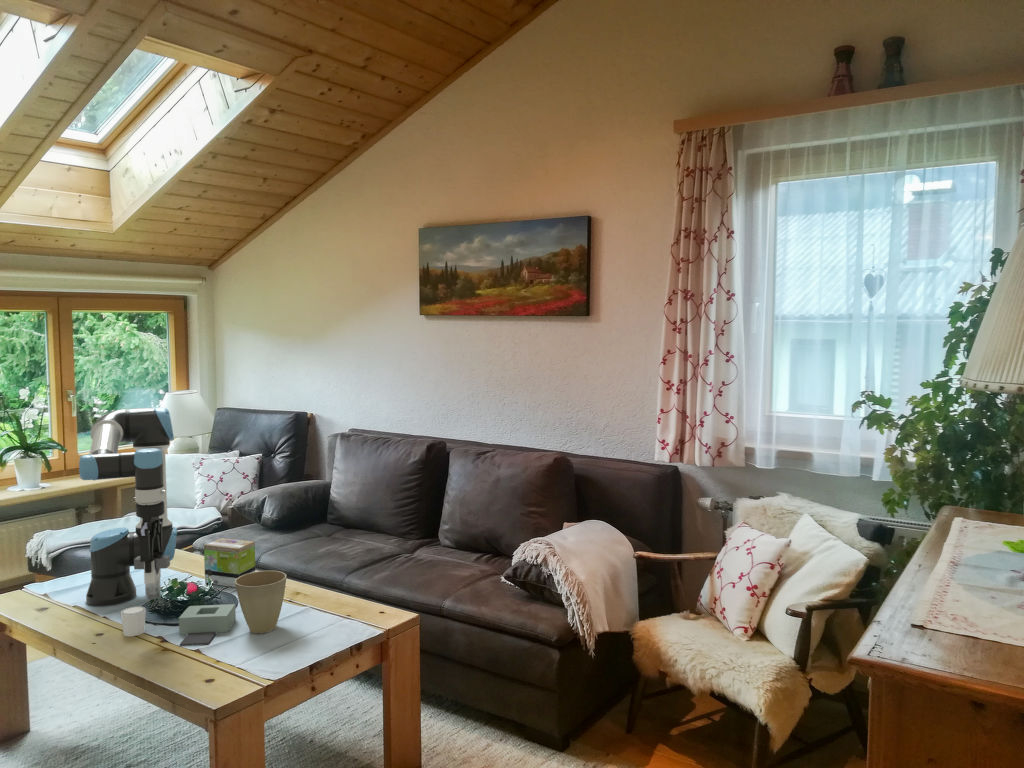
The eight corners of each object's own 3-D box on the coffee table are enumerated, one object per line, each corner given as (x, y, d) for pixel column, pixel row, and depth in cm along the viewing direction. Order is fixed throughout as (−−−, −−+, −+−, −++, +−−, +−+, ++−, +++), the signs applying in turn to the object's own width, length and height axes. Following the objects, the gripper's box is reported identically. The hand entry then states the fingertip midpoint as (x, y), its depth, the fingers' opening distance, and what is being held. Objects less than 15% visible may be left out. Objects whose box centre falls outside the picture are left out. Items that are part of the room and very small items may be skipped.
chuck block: (179, 634, 225) (178, 617, 225) (189, 621, 235) (189, 606, 234) (227, 631, 226) (226, 615, 226) (235, 619, 236) (235, 604, 236)
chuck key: (134, 600, 218) (133, 559, 217) (139, 595, 222) (138, 555, 221) (166, 598, 219) (165, 558, 218) (171, 594, 223) (170, 554, 222)
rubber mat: (179, 645, 216) (179, 643, 216) (188, 635, 224) (188, 633, 224) (208, 644, 217) (208, 642, 217) (216, 633, 225) (216, 631, 225)
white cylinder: (115, 635, 224) (115, 612, 224) (134, 627, 231) (133, 604, 230) (133, 638, 222) (132, 615, 221) (151, 629, 228) (151, 607, 228)
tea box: (203, 584, 270) (202, 544, 269) (222, 576, 280) (221, 537, 279) (239, 588, 266) (238, 547, 265) (256, 579, 275) (255, 540, 274)
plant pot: (261, 617, 239) (260, 567, 238) (297, 624, 232) (296, 574, 231) (225, 633, 225) (223, 581, 224) (262, 642, 219) (261, 589, 218)
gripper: (153, 508, 211) (155, 589, 212) (173, 495, 227) (175, 570, 229) (125, 509, 210) (127, 590, 212) (147, 495, 227) (149, 571, 228)
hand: (152, 579), depth 220 cm, fingers closed on chuck key, 4 cm apart
